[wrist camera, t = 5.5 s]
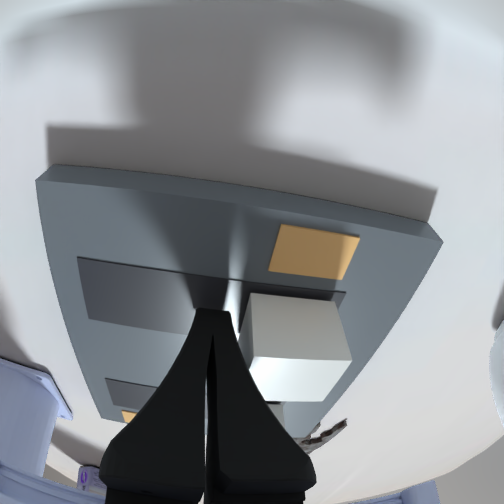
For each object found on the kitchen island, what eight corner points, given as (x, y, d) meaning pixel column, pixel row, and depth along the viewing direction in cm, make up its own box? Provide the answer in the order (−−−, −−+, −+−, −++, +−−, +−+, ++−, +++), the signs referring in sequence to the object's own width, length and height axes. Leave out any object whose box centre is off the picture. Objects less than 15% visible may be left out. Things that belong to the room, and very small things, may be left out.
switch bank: (105, 402, 21) (101, 419, 20) (53, 164, 11) (33, 181, 9) (303, 421, 24) (305, 438, 23) (427, 223, 13) (444, 243, 12)
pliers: (221, 479, 34) (237, 426, 23) (221, 474, 35) (236, 417, 23) (293, 478, 36) (351, 422, 24) (293, 473, 36) (349, 414, 25)
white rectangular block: (237, 341, 14) (238, 399, 12) (250, 292, 12) (254, 356, 10) (311, 346, 15) (322, 401, 12) (334, 301, 13) (352, 360, 11)
